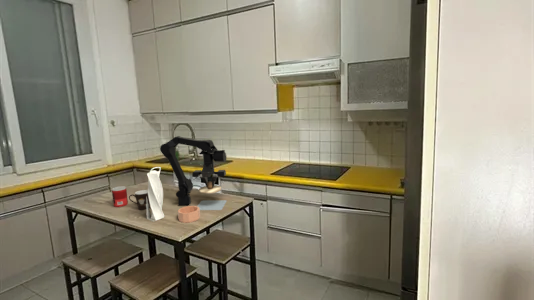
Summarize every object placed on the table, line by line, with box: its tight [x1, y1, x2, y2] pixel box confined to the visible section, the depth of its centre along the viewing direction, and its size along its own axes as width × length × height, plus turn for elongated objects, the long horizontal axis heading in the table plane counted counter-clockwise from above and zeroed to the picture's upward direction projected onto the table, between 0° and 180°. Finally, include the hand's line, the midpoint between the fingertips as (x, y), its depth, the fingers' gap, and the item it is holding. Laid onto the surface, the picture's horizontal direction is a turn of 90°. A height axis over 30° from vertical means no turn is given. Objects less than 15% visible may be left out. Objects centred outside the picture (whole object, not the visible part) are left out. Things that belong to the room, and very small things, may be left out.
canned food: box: [111, 185, 129, 208], centre depth 179 cm, size 8×8×11 cm
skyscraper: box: [145, 166, 165, 223], centre depth 156 cm, size 8×8×28 cm
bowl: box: [177, 205, 201, 224], centre depth 156 cm, size 11×11×5 cm
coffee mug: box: [128, 189, 151, 211], centre depth 173 cm, size 12×9×10 cm
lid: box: [198, 180, 222, 195], centre depth 172 cm, size 13×13×5 cm
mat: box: [197, 199, 228, 211], centre depth 174 cm, size 16×16×1 cm
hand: (210, 187), depth 173 cm, fingers closed on lid, 3 cm apart
